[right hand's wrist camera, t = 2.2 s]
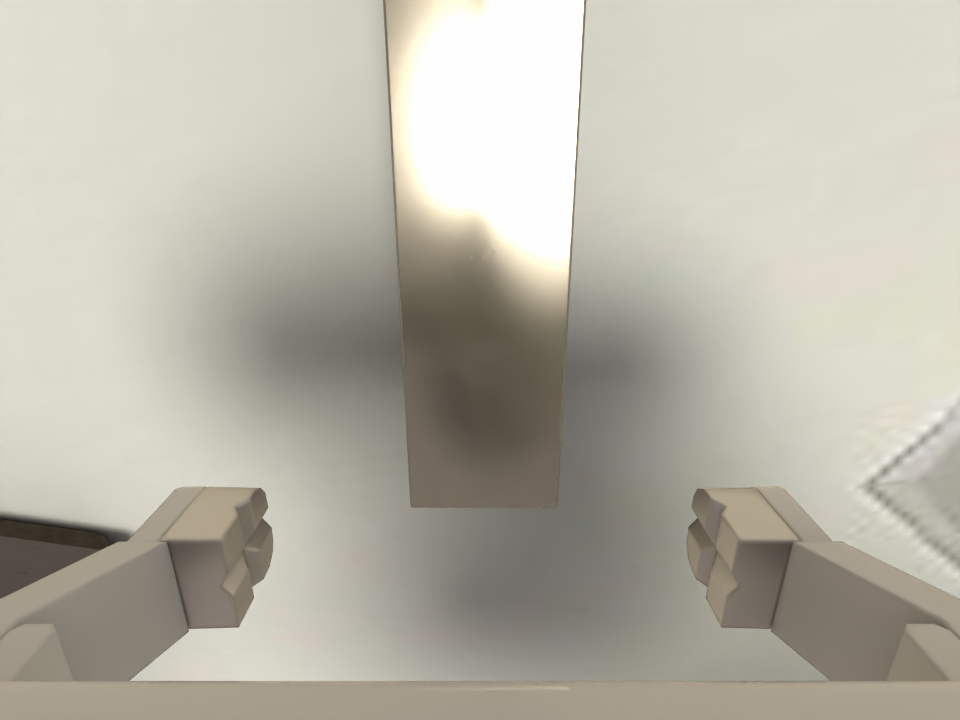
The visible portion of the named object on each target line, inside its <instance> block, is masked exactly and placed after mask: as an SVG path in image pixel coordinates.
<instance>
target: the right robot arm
mask: <svg viewBox="0 0 960 720" xmlns="http://www.w3.org/2000/svg"><path fill="white" fill-rule="evenodd" d="M267 509H268V504H267V499H266V494H265V492H264V491H263V490H262V489H261V488H235V487H208V488H207V487H181V488H177V489H175V490H174V491H173V492H172V494H171V495H170V496H169V497H168V498H167V499H166V500H165V501H164V502H163V503H162V504H161V505H160V507H159V508H158V509H157V510H156V511H155V512H154V513H153V514H152V515H151V516H150V517H149V518H148V520H147V521H146V522H145V523H144V524H143V525H142V526H141V527H140V528H139V529H138V530H137V531H136V533H135V534H134V535H133V536H132V537H131V538H130V539H129V540H128V541H127V542H116V543H114V544H112V545H110V546H108V547H106V548H104V549H102V550H100V551H98V552H96V553H94V554H92V555H90V556H88V557H86V558H84V559H81V560H79V561H77V562H75V563H73V564H71V565H69V566H67V567H65V568H63V569H61V570H59V571H57V572H55V573H53V574H51V575H49V576H46V577H44V578H42V579H40V580H38V581H36V582H34V583H32V584H30V585H28V586H26V587H24V588H22V589H20V590H18V591H16V592H14V593H12V594H9V595H7V596H5V597H3V598H1V599H0V720H960V599H958V598H956V597H954V596H952V595H950V594H948V593H946V592H944V591H942V590H940V589H938V588H936V587H934V586H932V585H930V584H928V583H926V582H924V581H922V580H919V579H917V578H915V577H913V576H911V575H909V574H907V573H905V572H903V571H901V570H899V569H897V568H895V567H893V566H891V565H889V564H887V563H885V562H883V561H880V560H878V559H876V558H874V557H872V556H870V555H868V554H866V553H864V552H862V551H860V550H858V549H856V548H854V547H852V546H850V545H848V544H846V543H844V542H833V541H832V540H831V539H830V538H829V537H828V536H827V535H826V534H825V533H824V531H823V530H822V529H821V528H820V527H819V526H818V525H817V524H816V523H815V522H814V521H813V520H812V518H811V517H810V516H809V515H808V514H807V513H806V512H805V511H804V510H803V509H802V508H801V506H800V505H799V504H798V503H797V502H796V501H795V500H794V499H793V498H792V497H791V496H790V495H789V493H788V492H787V491H786V490H785V489H783V488H780V487H778V486H776V487H751V488H714V489H697V491H696V493H695V495H694V498H693V503H692V509H693V511H694V512H695V514H696V516H697V517H698V518H697V519H696V520H695V521H694V522H693V523H692V524H691V525H690V526H689V527H688V535H687V552H688V559H689V563H690V566H691V569H692V571H693V573H694V575H695V577H696V579H697V580H699V581H700V582H701V583H703V584H704V585H706V586H707V587H708V589H707V594H706V599H707V601H708V603H709V605H710V607H711V608H712V610H713V612H714V614H715V616H716V618H717V620H718V622H719V624H720V626H721V627H725V628H761V629H771V631H772V632H773V633H774V634H775V635H776V636H778V637H779V638H780V639H781V640H782V641H784V642H785V643H786V644H787V645H788V646H790V647H791V648H792V649H793V650H794V651H796V652H797V653H798V654H799V655H801V656H802V657H803V658H804V659H805V660H807V661H808V662H809V663H810V664H811V665H813V666H814V667H815V668H816V669H817V670H819V671H820V672H821V673H822V674H823V675H825V676H826V677H827V678H828V679H830V680H831V681H129V680H131V679H132V678H133V677H134V676H135V675H137V674H138V673H139V672H140V671H142V670H143V669H144V668H145V667H146V666H148V665H149V664H150V663H151V662H152V661H154V660H155V659H156V658H157V657H158V656H160V655H161V654H162V653H163V652H165V651H166V650H167V649H168V648H169V647H171V646H172V645H173V644H174V643H175V642H177V641H178V640H179V639H180V638H181V637H183V636H184V635H185V634H186V633H188V632H189V629H199V628H234V627H239V626H240V624H241V622H242V620H243V618H244V616H245V614H246V612H247V610H248V608H249V607H250V605H251V603H252V601H253V599H254V594H253V589H252V587H253V586H254V585H256V584H257V583H259V582H260V581H261V580H263V579H264V577H265V575H266V573H267V571H268V569H269V567H270V562H271V558H272V553H273V534H272V527H271V526H270V525H269V524H268V523H267V522H266V521H265V520H264V519H263V518H262V517H263V516H264V514H265V512H266V511H267Z"/></svg>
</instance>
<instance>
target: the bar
mask: <svg viewBox="0 0 960 720" xmlns="http://www.w3.org/2000/svg"><path fill="white" fill-rule="evenodd" d="M383 7H384V25H385V44H386V62H387V81H388V99H389V117H390V136H391V154H392V173H393V191H394V209H395V228H396V246H397V265H398V283H399V301H400V320H401V338H402V357H403V375H404V394H405V412H406V430H407V449H408V467H409V486H410V504H411V507H414V508H557V505H558V488H559V470H560V453H561V435H562V418H563V400H564V383H565V365H566V347H567V330H568V312H569V295H570V277H571V260H572V242H573V225H574V207H575V189H576V172H577V154H578V137H579V119H580V102H581V84H582V67H583V49H584V31H585V14H586V0H383Z"/></svg>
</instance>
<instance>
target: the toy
mask: <svg viewBox="0 0 960 720" xmlns="http://www.w3.org/2000/svg"><path fill="white" fill-rule="evenodd" d="M106 547H108V545H107V540H106V539H105V537H104V536H103V535H101V534H98V533H95V532H89V531H81V530H74V529H67V528H59V527H52V526H45V525H38V524H30V523H23V522H16V521H8V520H1V519H0V599H1V598H3V597H5V596H7V595H9V594H12V593H14V592H16V591H18V590H20V589H22V588H24V587H26V586H28V585H30V584H32V583H34V582H36V581H38V580H40V579H42V578H44V577H46V576H49V575H51V574H53V573H55V572H57V571H59V570H61V569H63V568H65V567H67V566H69V565H71V564H73V563H75V562H77V561H79V560H81V559H84V558H86V557H88V556H90V555H92V554H94V553H96V552H98V551H100V550H102V549H104V548H106Z"/></svg>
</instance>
